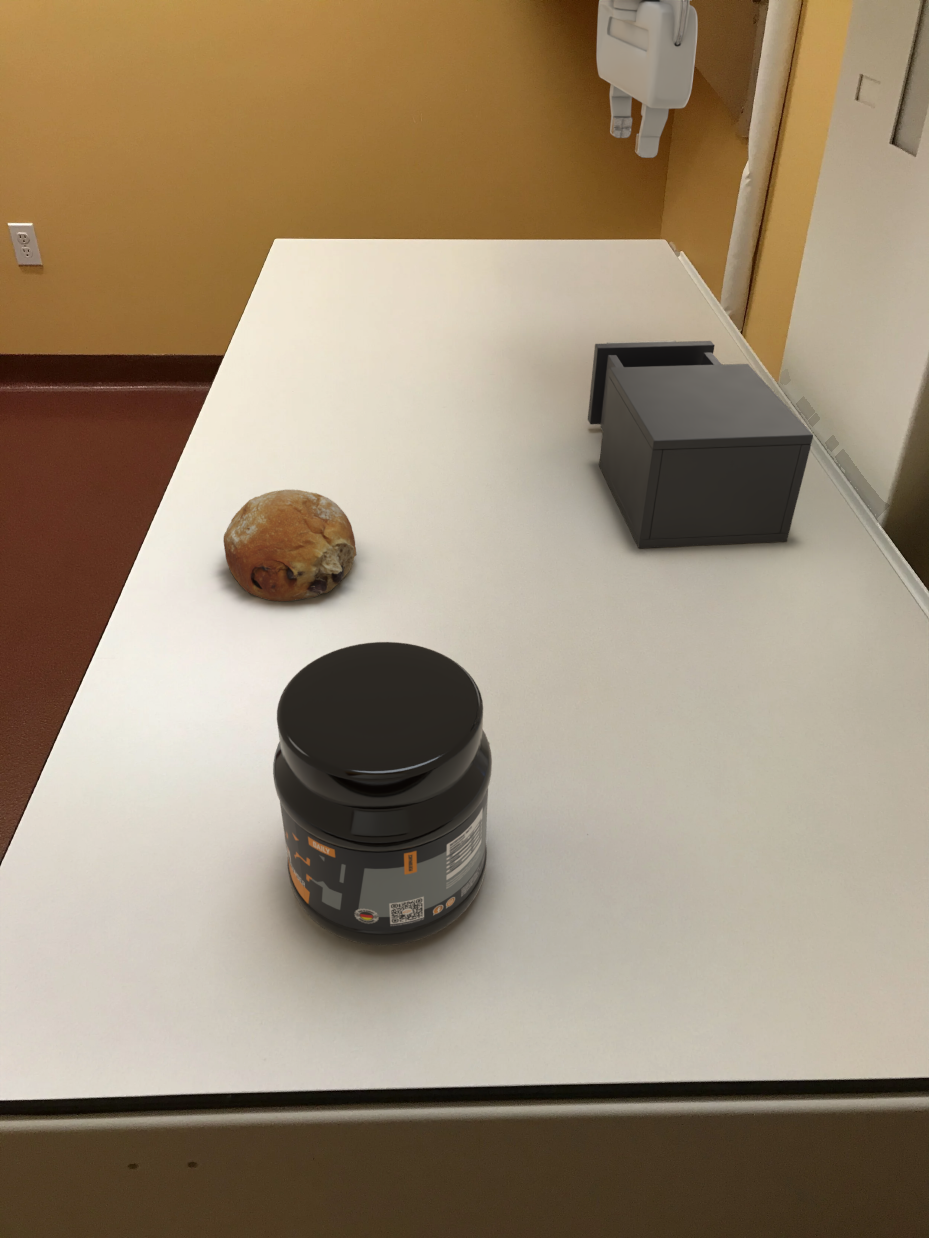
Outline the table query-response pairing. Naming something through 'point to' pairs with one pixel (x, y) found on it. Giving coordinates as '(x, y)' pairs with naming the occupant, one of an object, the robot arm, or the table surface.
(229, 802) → the table surface
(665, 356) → the grey drawer
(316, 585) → the bread roll
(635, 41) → the robot arm
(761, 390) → the dark grey cabinet
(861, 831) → the table surface
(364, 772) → the supplement container
